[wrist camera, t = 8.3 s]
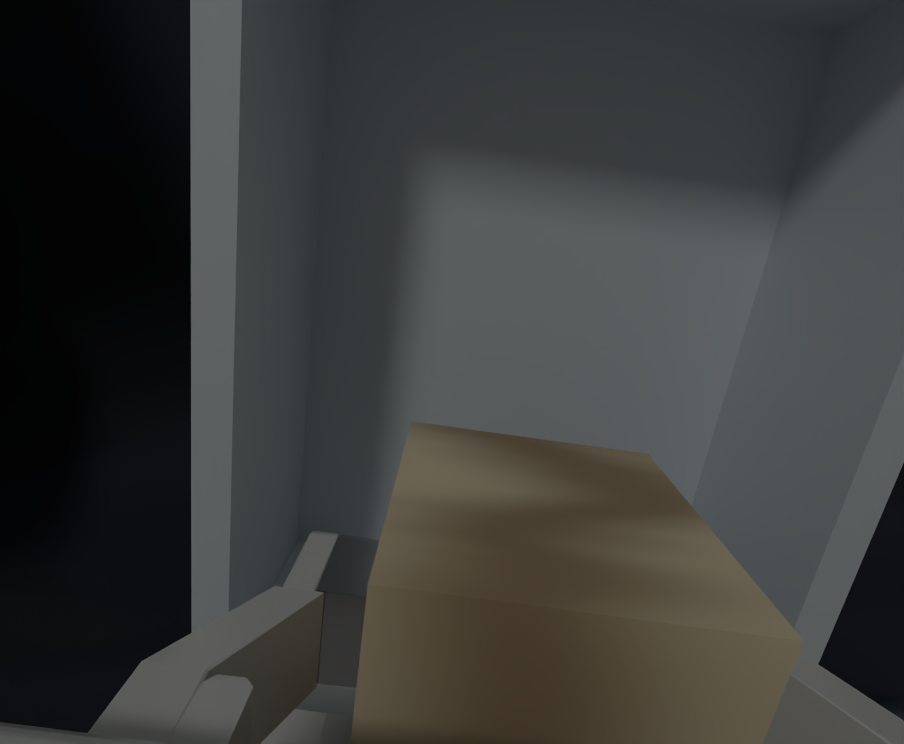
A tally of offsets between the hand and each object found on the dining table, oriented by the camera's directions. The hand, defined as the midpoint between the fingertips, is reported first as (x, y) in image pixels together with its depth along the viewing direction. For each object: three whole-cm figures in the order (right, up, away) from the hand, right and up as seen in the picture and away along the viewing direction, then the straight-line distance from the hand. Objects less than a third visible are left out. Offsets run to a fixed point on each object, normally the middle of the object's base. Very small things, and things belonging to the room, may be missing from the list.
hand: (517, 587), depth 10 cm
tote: (+1, +6, +5) cm, 8 cm away
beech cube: (0, 0, +2) cm, 2 cm away
